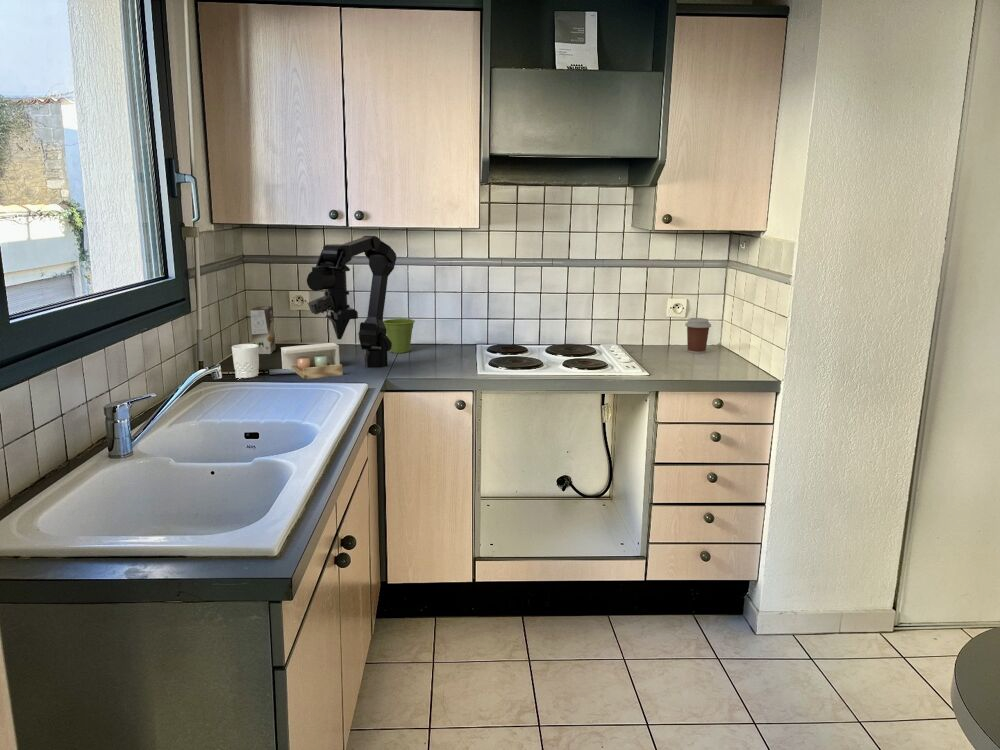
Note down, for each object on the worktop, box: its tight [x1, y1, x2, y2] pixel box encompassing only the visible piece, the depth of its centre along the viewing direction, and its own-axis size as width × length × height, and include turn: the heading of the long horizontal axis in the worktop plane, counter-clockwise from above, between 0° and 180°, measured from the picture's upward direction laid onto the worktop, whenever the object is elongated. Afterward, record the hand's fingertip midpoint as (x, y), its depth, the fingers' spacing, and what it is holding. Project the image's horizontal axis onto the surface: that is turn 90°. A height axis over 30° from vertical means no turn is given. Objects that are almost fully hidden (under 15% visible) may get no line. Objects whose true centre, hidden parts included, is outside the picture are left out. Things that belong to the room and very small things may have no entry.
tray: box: [291, 362, 344, 380], centre depth 238 cm, size 12×15×4 cm
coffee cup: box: [684, 317, 712, 354], centre depth 274 cm, size 9×9×12 cm
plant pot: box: [383, 318, 416, 354], centre depth 273 cm, size 12×12×11 cm
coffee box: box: [249, 305, 276, 355], centre depth 271 cm, size 9×6×16 cm
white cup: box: [231, 343, 260, 380], centre depth 233 cm, size 8×8×10 cm
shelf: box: [280, 342, 341, 370], centre depth 242 cm, size 17×6×8 cm, turn 120°
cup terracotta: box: [297, 357, 310, 372], centre depth 240 cm, size 4×4×4 cm
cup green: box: [314, 355, 327, 367], centre depth 243 cm, size 4×4×4 cm
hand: (339, 339), depth 227 cm, fingers closed
